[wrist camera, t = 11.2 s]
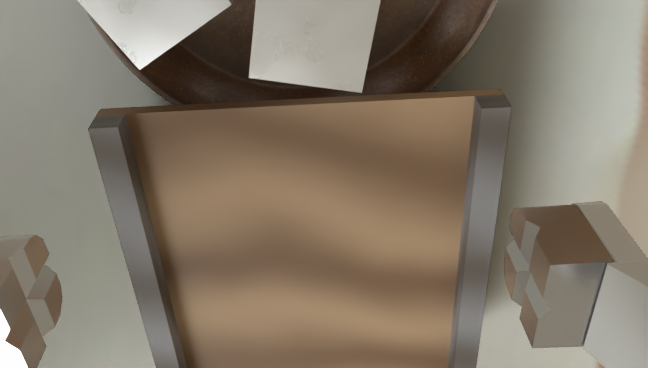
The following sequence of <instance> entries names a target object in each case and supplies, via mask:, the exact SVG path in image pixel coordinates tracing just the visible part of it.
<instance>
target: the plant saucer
mask: <svg viewBox="0 0 648 368" xmlns="http://www.w3.org/2000/svg"><path fill="white" fill-rule="evenodd" d="M497 2H498V0H381V1H380V6H379V11H378V16H377V21H376V26H375V31H374V35H373V40H372V45H371V50H370V55H369V60H368V65H367V70H366V75H365V80H364V85H363V90H362V93H359V92H351V91H344V90H336V89H329V88H321V87H313V86H306V85H298V84H291V83H283V82H276V81H268V80H261V79H253V78H249V68H250V57H251V47H252V36H253V25H254V15H255V4H256V0H233V2H232V5H231V6H229V7H228V8H226V9H225V10H223V11H222V12H221V13H219V14H218V15H216V16H215V17H214V18H212V19H211V20H209V21H208V22H207V23H205V24H204V25H202V26H201V27H200V28H198V29H197V30H195V31H194V32H193V33H191V34H190V35H188V36H187V37H185V38H184V39H183V40H181V41H180V42H178V43H177V44H176V45H174V46H173V47H171V48H170V49H169V50H167V51H166V52H164V53H163V54H162V55H160V56H159V57H157V58H156V59H155V60H153V61H152V62H150V63H149V64H148V65H146V66H145V67H143V68H142V69H140V70H139V69H138V68H137V67H136V66H135V65H134V63H133V62H132V61H131V60H130V59H129V58H128V57H127V56H126V54H125V53H124V52H123V51H122V50H121V49H120V48H119V47H118V46H117V44H116V43H115V42H114V41H113V40H112V39H111V38H110V37H109V35H108V34H107V33H106V32H105V31H104V30H103V29H102V28H101V26H100V25H99V24H98V23H97V22H96V21H95V20H94V19H93V18H92V16H91V15H90V14H89V13H88V12H87V13H88V15H89V17H90V19H91V21H92V22H93V24H94V25H95V27H96V28H97V30H98V31H99V33H100V34H101V36H102V37H103V39H104V40H105V42H106V43H107V44H108V45H109V47H110V48H111V49H112V50H113V52H114V53H115V54H116V55H117V56H118V58H119V59H120V60H121V61H122V62H123V63H124V64H125V65H126V66H127V67H128V69H129V70H130V71H131V72H132V73H133V74H134V75H136V76H137V77H138V78H139V79H140V80H141V81H142V82H143V83H145V84H146V85H147V86H148V87H150V88H151V89H152V90H153V91H155V92H156V93H157V94H159V95H160V96H161V97H163V98H164V99H166V100H167V101H169V102H170V103H172V104H173V105H189V104H208V103H228V102H247V101H267V100H286V99H306V98H325V97H345V96H364V95H384V94H403V93H423V92H428V91H430V90H431V89H432V88H433V87H434V86H435V85H436V84H438V83H439V82H440V81H441V80H442V79H443V78H444V77H445V76H446V75H447V74H448V73H449V72H450V71H451V70H452V69H453V68H454V67H455V66H456V65H457V64H458V62H459V61H460V60H461V59H462V58H463V57H464V55H465V54H466V53H467V52H468V51H469V49H470V48H471V46H472V45H473V44H474V42H475V41H476V39H477V37H478V36H479V34H480V33H481V31H482V30H483V28H484V26H485V25H486V23H487V21H488V19H489V18H490V16H491V14H492V12H493V10H494V8H495V6H496V4H497Z"/></svg>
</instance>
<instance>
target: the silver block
mask: <svg viewBox="0 0 648 368" xmlns="http://www.w3.org/2000/svg"><path fill="white" fill-rule="evenodd" d="M77 1H78V2H79V3H80V4H81V5H82V6H83V7H84V9H85V10H86V11H87V12H88V13H89V14H90V15H91V16H92V18H93V19H94V20H95V21H96V22H97V23H98V24H99V25H100V26H101V28H102V29H103V30H104V31H105V32H106V33H107V34H108V35H109V37H110V38H111V39H112V40H113V41H114V42H115V43H116V44H117V46H118V47H119V48H120V49H121V50H122V51H123V52H124V53H125V54H126V56H127V57H128V58H129V59H130V60H131V61H132V62H133V63H134V65H135V66H136V67H137V68H138V69H139V70H140V69H142V68H143V67H145V66H146V65H148V64H149V63H150V62H152V61H153V60H155V59H156V58H157V57H159V56H160V55H162V54H163V53H164V52H166V51H167V50H169V49H170V48H171V47H173V46H174V45H176V44H177V43H178V42H180V41H181V40H183V39H184V38H185V37H187V36H188V35H190V34H191V33H193V32H194V31H195V30H197V29H198V28H200V27H201V26H202V25H204V24H205V23H207V22H208V21H209V20H211V19H212V18H214V17H215V16H216V15H218V14H219V13H221V12H222V11H223V10H225V9H226V8H228V7H229V6H231V5H232V2H233V0H77Z"/></svg>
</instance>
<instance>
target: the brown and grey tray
mask: <svg viewBox="0 0 648 368" xmlns="http://www.w3.org/2000/svg"><path fill="white" fill-rule="evenodd" d="M511 108H512V107H511V105H510V104H509V102H508V101H507V99H506V98H505V96H504V95H503V93H502V92H501V90H500V89H481V90H462V91H442V92H423V93H403V94H384V95H364V96H345V97H325V98H306V99H286V100H267V101H247V102H228V103H208V104H189V105H169V106H150V107H130V108H111V109H100V111H99V112H98V114H97V115H96V117H95V119H94V120H93V122H92V123H91V125H90V126H89V128H88V131H89V134H90V138H91V141H92V145H93V148H94V152H95V155H96V159H97V162H98V166H99V169H100V173H101V176H102V180H103V183H104V187H105V190H106V194H107V197H108V201H109V204H110V208H111V211H112V215H113V218H114V222H115V225H116V229H117V232H118V236H119V239H120V243H121V246H122V250H123V253H124V257H125V260H126V264H127V267H128V271H129V274H130V278H131V281H132V285H133V288H134V292H135V295H136V299H137V302H138V306H139V309H140V313H141V316H142V320H143V323H144V327H145V330H146V334H147V337H148V341H149V344H150V348H151V351H152V355H153V358H154V362H155V365H156V368H476V365H477V357H478V350H479V343H480V335H481V328H482V321H483V313H484V306H485V299H486V291H487V284H488V277H489V269H490V262H491V255H492V247H493V240H494V233H495V225H496V218H497V211H498V203H499V196H500V189H501V181H502V174H503V167H504V159H505V152H506V145H507V137H508V130H509V123H510V115H511Z"/></svg>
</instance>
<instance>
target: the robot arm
mask: <svg viewBox="0 0 648 368" xmlns="http://www.w3.org/2000/svg"><path fill="white" fill-rule="evenodd" d="M509 229H510V231H511V233H512V235H513V237H514V239H513V240H512V241H511V243H510V244H509V245H508V246H507V247H506V249H505V257H504V273H505V281H506V285H507V289H508V291H509V294H510V296H511V299H512V300H513V301H515V302H516V303H518V304H519V305H520V306H522V309H521V314H520V320H521V323H522V325H523V327H524V330H525V332H526V334H527V337H528V339H529V341H530V344H531V346H532V348H550V347H580V346H584V347H583V349H584V350H585V351H586V352H588V353H589V354H590V355H591V356H592V357H594V358H595V359H596V360H597V361H598V362H599V363H601V364H602V365H603V366H604V367H606V368H648V258H647V257H646V255H645V254H644V253H643V251H642V250H641V249H640V247H639V246H638V245H637V243H636V242H635V241H634V239H633V238H632V237H631V235H630V234H629V233H628V231H627V230H626V229H625V227H624V226H623V225H622V223H621V222H620V221H619V219H618V218H617V217H616V215H615V214H614V213H613V211H612V210H611V209H610V207H609V206H608V205H607V204H606V203H604V202H602V201H597V202H585V203H573V204H571V205H558V206H542V207H526V208H514V210H513V212H512V214H511V218H510V224H509ZM48 255H49V252H48V250H47V248H46V245H45V243H44V241H43V239H42V238H40V237H38V236H37V235H25V236H0V368H37V366H38V364H39V362H40V360H41V357H42V355H43V353H44V351H45V348H46V345H45V343H44V340H43V338H42V336H44V335H45V334H46V333H47V332H49V331H50V330H51V329H53V328H54V327H55V325H56V323H57V320H58V318H59V315H60V311H61V303H62V293H61V285H60V282H59V279H58V276H57V274H56V273H55V272H54V271H52V270H51V269H50V268H48V267H47V266H46V265H44V263H45V261H46V259H47V257H48Z"/></svg>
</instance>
